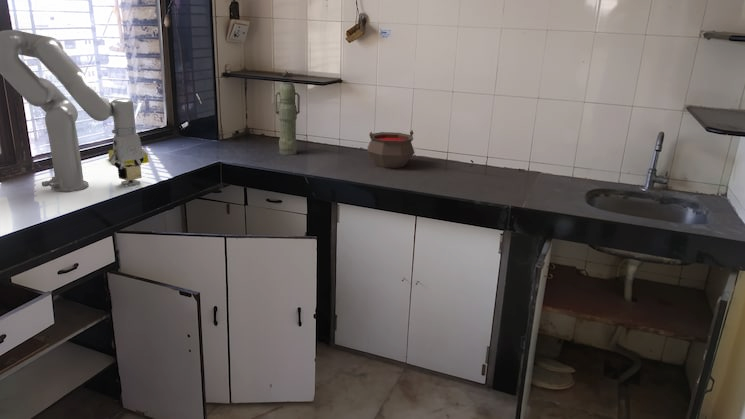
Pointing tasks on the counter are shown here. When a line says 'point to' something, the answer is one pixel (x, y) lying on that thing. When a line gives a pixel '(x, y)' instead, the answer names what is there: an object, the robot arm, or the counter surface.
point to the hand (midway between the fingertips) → (130, 176)
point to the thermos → (287, 118)
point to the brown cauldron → (391, 149)
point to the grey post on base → (130, 182)
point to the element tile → (130, 161)
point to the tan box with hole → (132, 171)
